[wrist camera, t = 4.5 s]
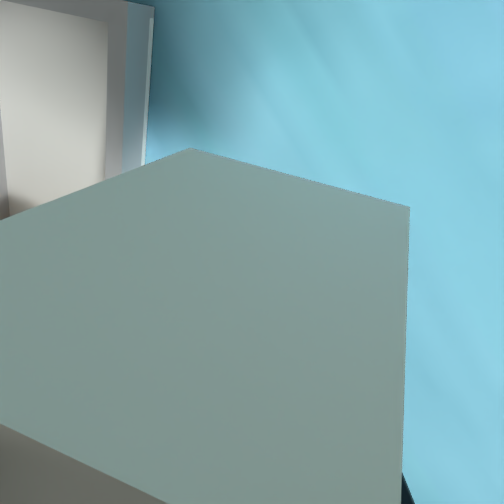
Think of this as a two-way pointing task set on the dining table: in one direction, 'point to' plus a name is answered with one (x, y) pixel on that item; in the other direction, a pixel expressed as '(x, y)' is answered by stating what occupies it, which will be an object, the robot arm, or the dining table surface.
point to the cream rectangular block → (203, 341)
